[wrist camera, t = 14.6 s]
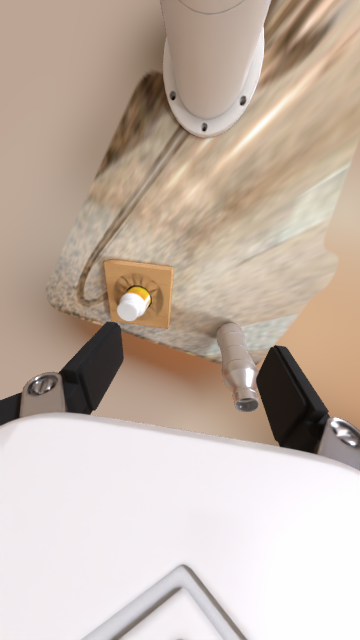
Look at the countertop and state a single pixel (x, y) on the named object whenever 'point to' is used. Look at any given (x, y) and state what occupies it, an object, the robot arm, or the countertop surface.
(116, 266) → the socket pad
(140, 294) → the supplement bottle
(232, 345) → the plastic bottle
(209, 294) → the countertop surface
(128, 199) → the countertop surface
